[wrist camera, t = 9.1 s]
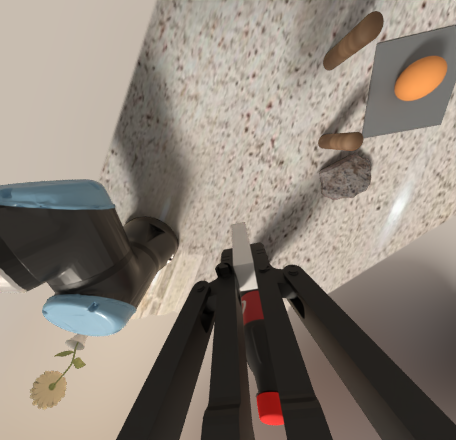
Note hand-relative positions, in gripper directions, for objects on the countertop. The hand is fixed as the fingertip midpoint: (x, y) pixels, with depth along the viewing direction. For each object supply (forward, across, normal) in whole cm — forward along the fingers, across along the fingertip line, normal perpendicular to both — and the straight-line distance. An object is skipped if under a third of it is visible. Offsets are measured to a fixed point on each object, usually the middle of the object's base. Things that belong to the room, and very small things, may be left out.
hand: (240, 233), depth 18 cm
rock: (+21, -23, +3) cm, 32 cm away
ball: (+18, -33, -11) cm, 39 cm away
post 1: (+21, -21, -17) cm, 34 cm away
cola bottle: (+22, 0, +24) cm, 32 cm away
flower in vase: (+24, +52, +32) cm, 66 cm away
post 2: (+21, -20, -5) cm, 29 cm away
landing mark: (+21, -34, -10) cm, 41 cm away
